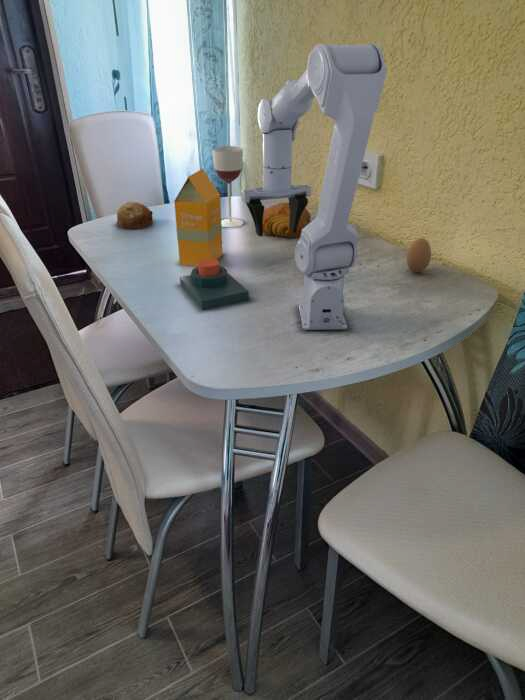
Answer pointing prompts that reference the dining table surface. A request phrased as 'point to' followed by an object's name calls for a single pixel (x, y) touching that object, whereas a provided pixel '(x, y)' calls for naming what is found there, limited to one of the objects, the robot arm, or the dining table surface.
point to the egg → (418, 255)
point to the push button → (208, 267)
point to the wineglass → (228, 173)
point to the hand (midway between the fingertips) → (276, 232)
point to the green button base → (213, 289)
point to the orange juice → (198, 220)
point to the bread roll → (134, 215)
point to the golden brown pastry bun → (282, 221)
